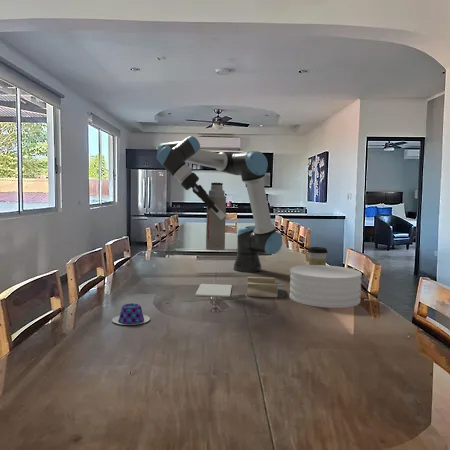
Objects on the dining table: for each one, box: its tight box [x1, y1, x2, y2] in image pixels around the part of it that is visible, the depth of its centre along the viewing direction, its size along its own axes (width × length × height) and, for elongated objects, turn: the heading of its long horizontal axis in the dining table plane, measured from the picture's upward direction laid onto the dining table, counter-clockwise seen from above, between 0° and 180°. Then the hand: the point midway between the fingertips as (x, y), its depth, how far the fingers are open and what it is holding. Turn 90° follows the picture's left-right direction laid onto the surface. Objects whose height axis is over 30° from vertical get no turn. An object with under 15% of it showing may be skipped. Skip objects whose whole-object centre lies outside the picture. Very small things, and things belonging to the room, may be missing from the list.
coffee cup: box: [307, 246, 329, 265], centre depth 215 cm, size 10×10×15 cm
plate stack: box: [288, 264, 363, 309], centre depth 172 cm, size 28×28×12 cm
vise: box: [246, 276, 285, 298], centre depth 180 cm, size 15×15×5 cm
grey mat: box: [195, 283, 233, 298], centre depth 181 cm, size 20×14×1 cm
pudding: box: [111, 302, 151, 326], centre depth 137 cm, size 12×12×5 cm
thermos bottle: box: [205, 182, 227, 251], centre depth 179 cm, size 8×8×28 cm
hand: (224, 217), depth 179 cm, fingers closed on thermos bottle, 8 cm apart
